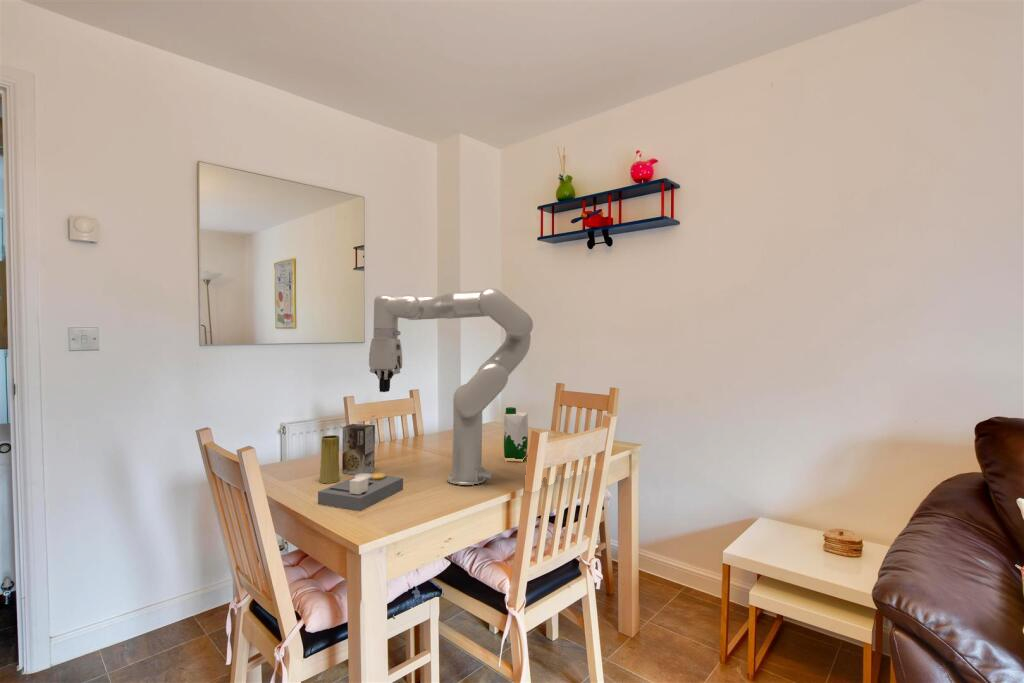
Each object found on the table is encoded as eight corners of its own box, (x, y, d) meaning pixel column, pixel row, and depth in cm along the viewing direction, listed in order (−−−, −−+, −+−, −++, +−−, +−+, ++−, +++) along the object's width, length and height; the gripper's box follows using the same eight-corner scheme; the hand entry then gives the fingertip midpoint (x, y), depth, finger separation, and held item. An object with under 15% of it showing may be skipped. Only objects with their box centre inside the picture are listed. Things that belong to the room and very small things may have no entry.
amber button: (388, 483, 153) (388, 473, 153) (379, 488, 148) (379, 477, 148) (375, 481, 155) (375, 471, 155) (365, 486, 150) (365, 475, 150)
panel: (403, 489, 152) (403, 477, 152) (360, 511, 133) (360, 498, 133) (364, 483, 157) (364, 472, 157) (317, 504, 137) (318, 491, 137)
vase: (342, 478, 163) (342, 434, 162) (336, 483, 156) (336, 438, 156) (323, 478, 162) (324, 434, 162) (316, 483, 156) (317, 438, 156)
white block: (367, 499, 138) (367, 477, 138) (358, 503, 135) (358, 481, 135) (358, 497, 139) (358, 476, 139) (349, 502, 136) (349, 480, 136)
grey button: (374, 484, 146) (374, 474, 146) (364, 489, 142) (364, 478, 142) (361, 482, 148) (361, 472, 148) (350, 487, 143) (350, 476, 143)
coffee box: (375, 471, 172) (376, 424, 172) (364, 476, 166) (365, 428, 166) (352, 469, 174) (352, 423, 174) (341, 473, 168) (341, 426, 168)
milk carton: (506, 456, 197) (507, 406, 197) (528, 458, 195) (529, 407, 195) (501, 461, 188) (502, 409, 188) (525, 463, 187) (526, 410, 187)
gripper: (412, 335, 160) (411, 391, 160) (372, 334, 165) (371, 389, 165) (399, 334, 153) (398, 394, 153) (358, 334, 158) (357, 391, 158)
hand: (384, 391), depth 159 cm, fingers closed
